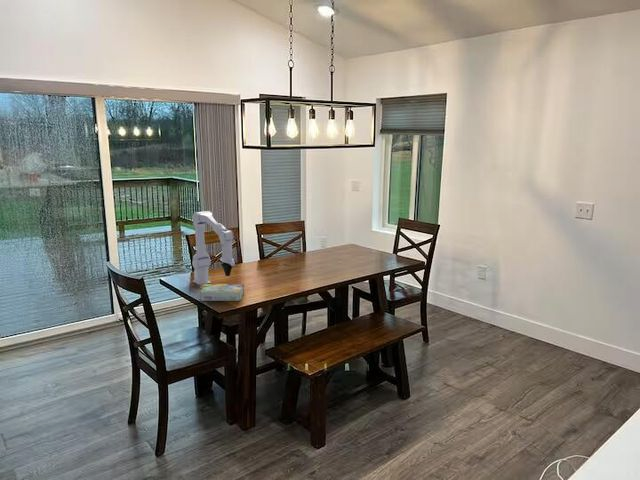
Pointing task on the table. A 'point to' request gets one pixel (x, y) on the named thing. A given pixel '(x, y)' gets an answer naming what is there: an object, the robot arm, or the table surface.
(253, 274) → the table surface
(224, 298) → the snack box
